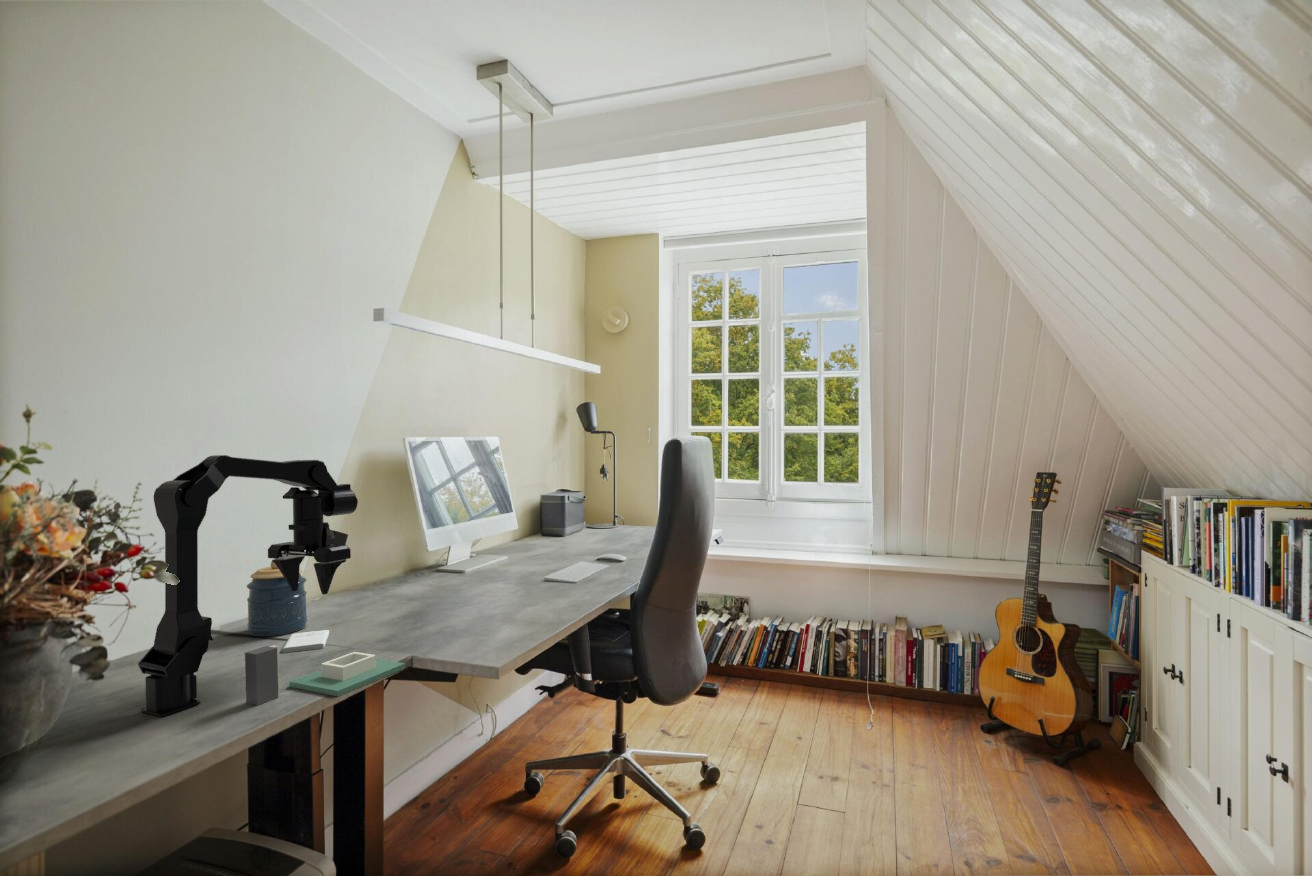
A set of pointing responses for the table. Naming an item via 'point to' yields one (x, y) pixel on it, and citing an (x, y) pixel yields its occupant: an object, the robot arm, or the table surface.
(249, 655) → the plug
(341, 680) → the board
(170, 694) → the robot arm
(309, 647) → the external hard drive
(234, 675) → the table surface
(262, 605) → the canister
